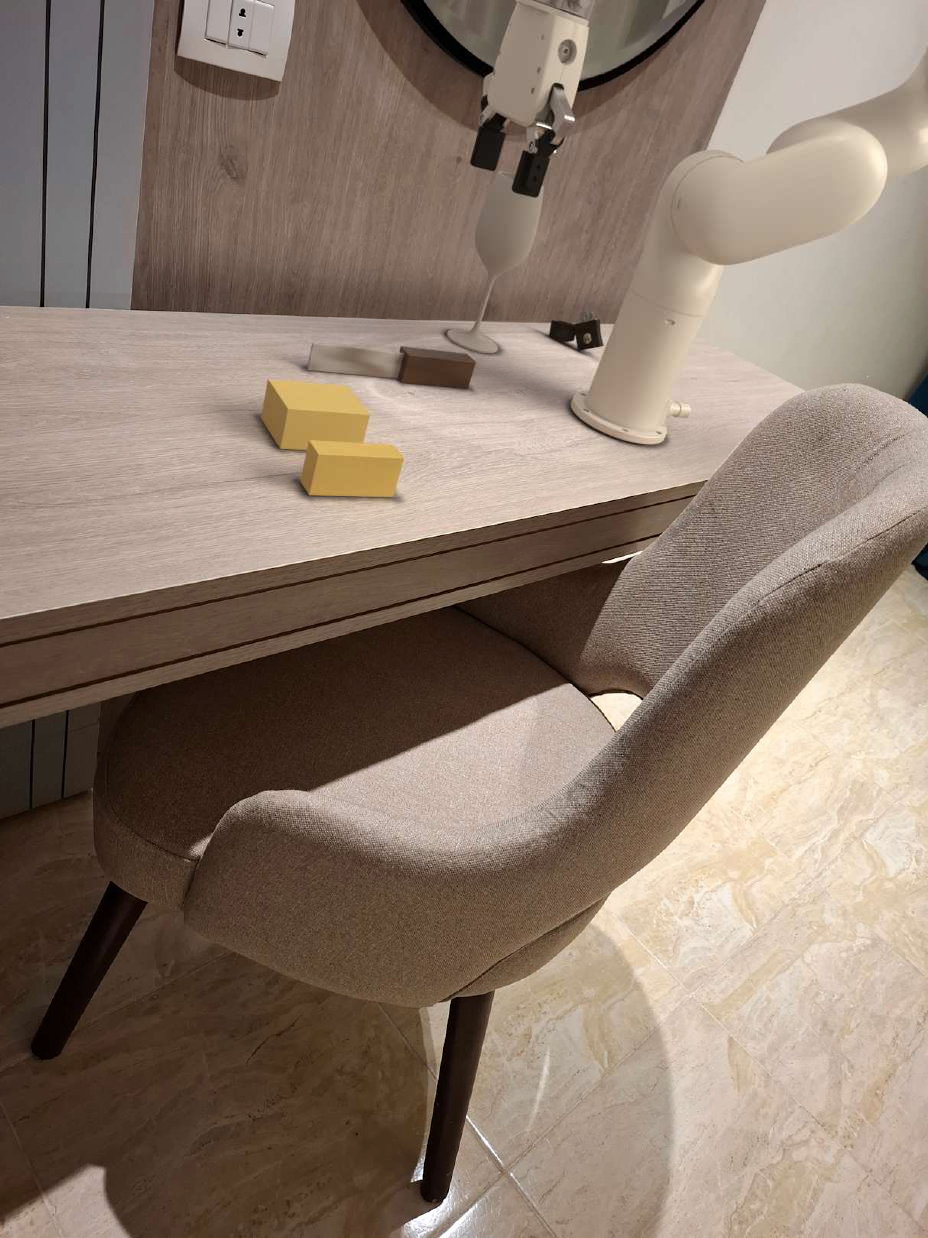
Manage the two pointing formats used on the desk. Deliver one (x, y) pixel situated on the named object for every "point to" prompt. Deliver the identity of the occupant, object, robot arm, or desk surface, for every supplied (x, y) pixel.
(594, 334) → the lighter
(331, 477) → the butter slice
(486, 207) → the wineglass
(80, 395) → the desk surface
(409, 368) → the knife
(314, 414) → the butter block
